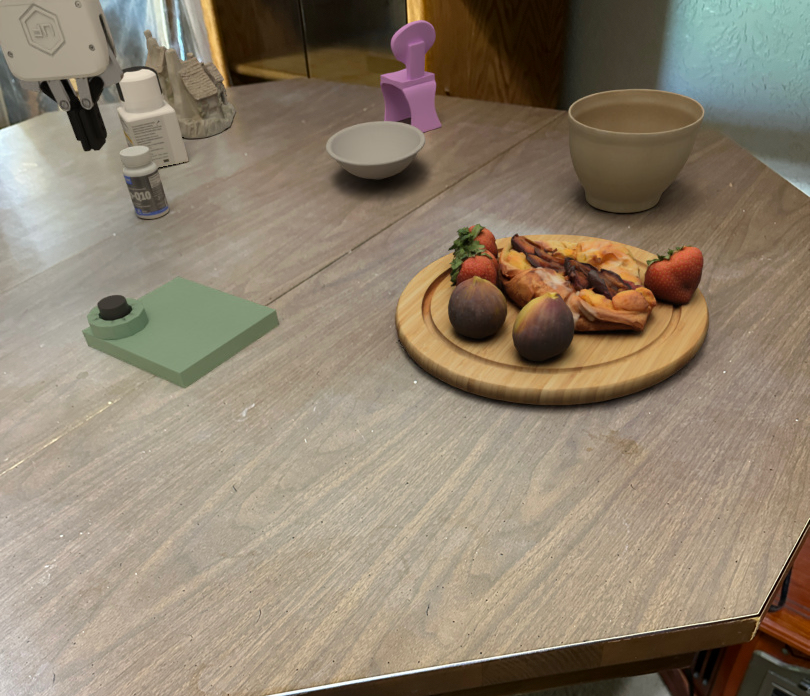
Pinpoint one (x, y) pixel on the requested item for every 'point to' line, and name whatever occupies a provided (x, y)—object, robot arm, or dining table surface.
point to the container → (149, 117)
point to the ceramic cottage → (191, 90)
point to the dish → (376, 148)
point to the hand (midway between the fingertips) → (95, 146)
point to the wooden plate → (553, 317)
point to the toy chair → (411, 78)
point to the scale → (181, 330)
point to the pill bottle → (143, 182)
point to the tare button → (113, 307)
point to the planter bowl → (631, 145)
